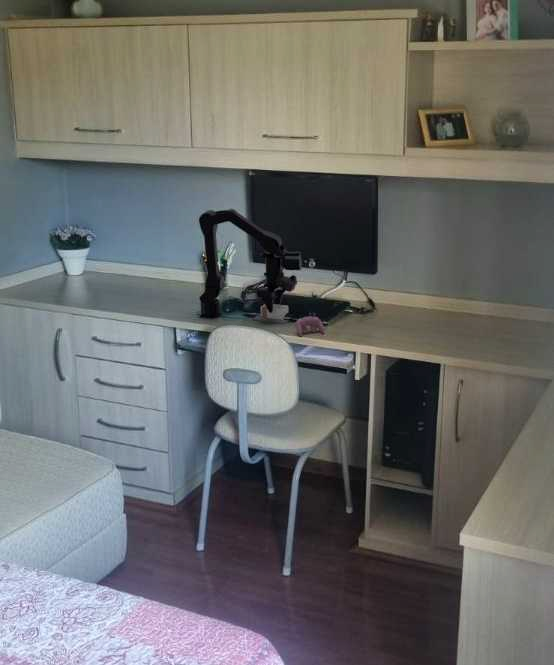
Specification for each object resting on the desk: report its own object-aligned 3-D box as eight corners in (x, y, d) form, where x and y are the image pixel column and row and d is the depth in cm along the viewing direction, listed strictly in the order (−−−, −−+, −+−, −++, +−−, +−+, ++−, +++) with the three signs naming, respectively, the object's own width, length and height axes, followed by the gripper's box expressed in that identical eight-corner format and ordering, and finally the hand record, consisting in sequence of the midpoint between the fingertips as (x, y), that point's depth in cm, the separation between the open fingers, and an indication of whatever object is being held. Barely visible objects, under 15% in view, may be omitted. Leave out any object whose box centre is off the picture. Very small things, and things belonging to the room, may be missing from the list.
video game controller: (321, 335, 314) (318, 316, 315) (326, 333, 309) (322, 313, 310) (295, 338, 311) (292, 319, 312) (299, 336, 307) (296, 316, 307)
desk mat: (252, 320, 327) (252, 318, 327) (265, 311, 337) (265, 310, 336) (284, 323, 322) (284, 322, 322) (296, 315, 331) (296, 314, 331)
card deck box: (283, 319, 325) (282, 309, 324) (260, 317, 329) (260, 306, 327) (288, 316, 330) (288, 305, 328) (266, 313, 333) (266, 303, 332)
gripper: (283, 277, 312) (283, 319, 317) (303, 265, 328) (303, 305, 333) (254, 275, 317) (256, 316, 322) (276, 263, 333) (277, 302, 338)
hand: (274, 310), depth 328 cm, fingers open, 6 cm apart
